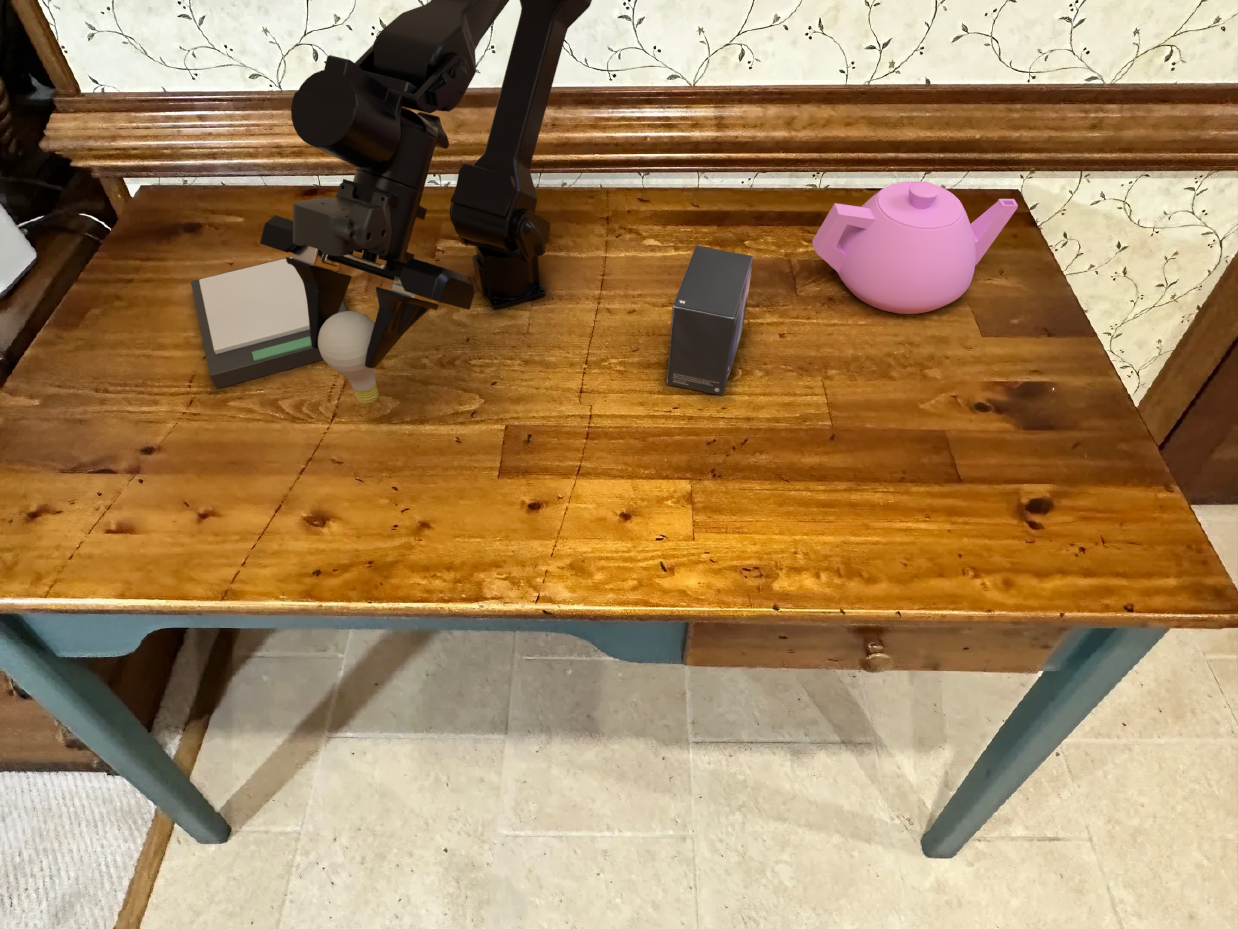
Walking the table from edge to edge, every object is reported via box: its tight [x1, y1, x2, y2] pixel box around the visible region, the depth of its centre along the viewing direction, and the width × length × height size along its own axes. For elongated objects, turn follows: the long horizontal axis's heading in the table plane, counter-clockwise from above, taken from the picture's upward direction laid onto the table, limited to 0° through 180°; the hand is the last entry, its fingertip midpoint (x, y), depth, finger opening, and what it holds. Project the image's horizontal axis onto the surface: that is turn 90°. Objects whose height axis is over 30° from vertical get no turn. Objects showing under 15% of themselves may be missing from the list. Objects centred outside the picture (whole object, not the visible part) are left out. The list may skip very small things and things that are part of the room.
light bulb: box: [318, 310, 380, 405], centre depth 79 cm, size 5×6×10 cm
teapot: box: [811, 180, 1019, 315], centre depth 98 cm, size 22×16×12 cm
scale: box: [190, 256, 347, 390], centre depth 97 cm, size 15×17×3 cm
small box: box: [665, 245, 754, 396], centre depth 90 cm, size 11×6×10 cm, turn 164°
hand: (342, 357), depth 77 cm, fingers closed on light bulb, 5 cm apart
